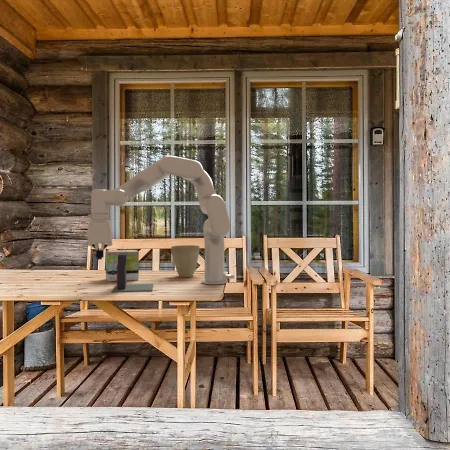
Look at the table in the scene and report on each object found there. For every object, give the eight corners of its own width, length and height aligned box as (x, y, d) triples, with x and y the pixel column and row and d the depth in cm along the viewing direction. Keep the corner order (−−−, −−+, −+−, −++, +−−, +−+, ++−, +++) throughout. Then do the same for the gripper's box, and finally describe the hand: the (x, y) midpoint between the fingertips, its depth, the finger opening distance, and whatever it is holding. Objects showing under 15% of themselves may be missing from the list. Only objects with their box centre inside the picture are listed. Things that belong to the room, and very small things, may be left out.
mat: (153, 285, 206) (153, 283, 206) (152, 291, 190) (152, 289, 190) (116, 285, 204) (116, 284, 204) (111, 292, 188) (111, 290, 188)
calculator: (118, 285, 202) (117, 252, 201) (127, 285, 202) (127, 252, 202) (116, 289, 191) (115, 255, 190) (126, 289, 192) (126, 254, 191)
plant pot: (201, 274, 240) (201, 245, 239) (197, 278, 225) (197, 247, 224) (174, 274, 241) (174, 244, 241) (168, 278, 226) (168, 247, 226)
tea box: (108, 282, 215) (107, 251, 214) (105, 279, 224) (105, 250, 223) (139, 280, 220) (139, 250, 220) (135, 277, 229) (135, 249, 229)
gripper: (80, 217, 190) (80, 260, 190) (116, 217, 191) (116, 260, 192) (84, 217, 197) (83, 258, 198) (118, 217, 199) (118, 258, 199)
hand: (99, 259), depth 195 cm, fingers closed
